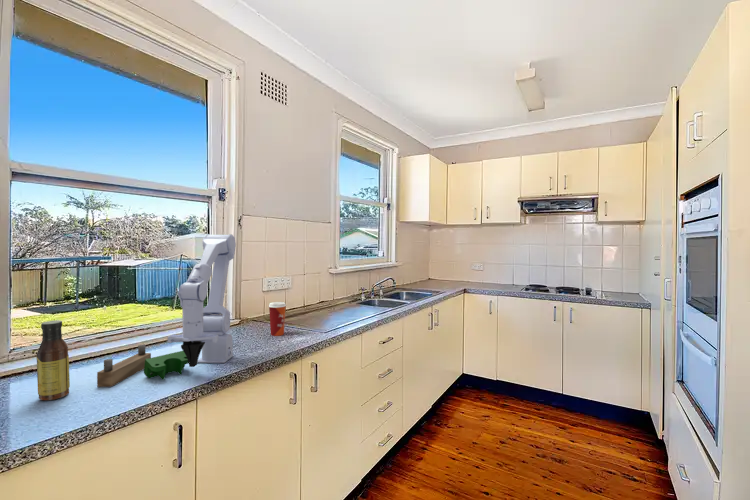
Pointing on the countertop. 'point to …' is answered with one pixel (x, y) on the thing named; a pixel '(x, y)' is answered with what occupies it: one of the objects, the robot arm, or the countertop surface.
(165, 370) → the clamp
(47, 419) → the countertop surface
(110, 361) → the bar
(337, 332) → the countertop surface
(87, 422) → the countertop surface
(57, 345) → the sauce bottle
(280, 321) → the paper cup
